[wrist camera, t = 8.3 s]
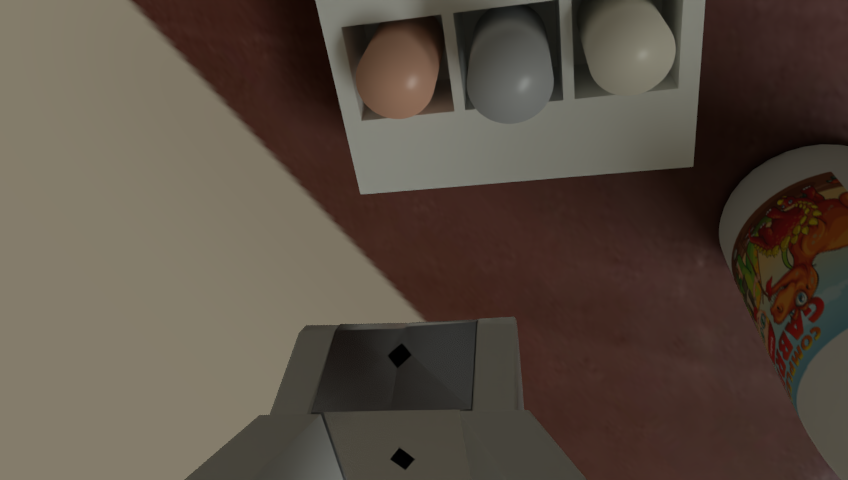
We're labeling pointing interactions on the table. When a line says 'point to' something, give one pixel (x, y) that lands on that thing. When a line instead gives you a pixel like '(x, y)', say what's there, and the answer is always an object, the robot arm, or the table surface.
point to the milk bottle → (798, 281)
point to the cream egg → (625, 44)
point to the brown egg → (401, 66)
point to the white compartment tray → (520, 142)
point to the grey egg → (510, 65)
